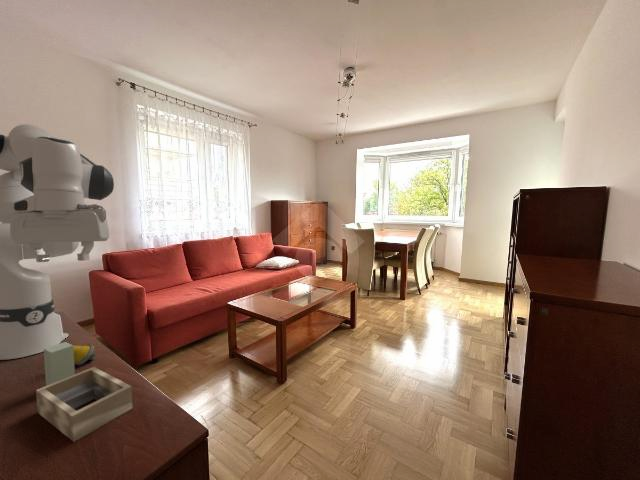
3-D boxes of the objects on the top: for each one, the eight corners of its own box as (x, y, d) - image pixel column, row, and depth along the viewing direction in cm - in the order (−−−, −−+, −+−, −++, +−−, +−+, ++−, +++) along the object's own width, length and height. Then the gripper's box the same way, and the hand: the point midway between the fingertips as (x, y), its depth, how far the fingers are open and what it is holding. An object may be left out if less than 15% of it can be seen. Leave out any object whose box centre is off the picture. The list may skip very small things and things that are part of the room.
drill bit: (97, 365, 75) (60, 352, 69) (84, 371, 76) (46, 358, 70) (106, 347, 79) (72, 333, 73) (93, 352, 80) (59, 339, 74)
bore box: (37, 412, 56) (36, 390, 56) (94, 386, 65) (93, 366, 65) (73, 442, 49) (72, 416, 49) (132, 408, 58) (131, 386, 57)
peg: (46, 388, 64) (43, 348, 63) (67, 380, 67) (65, 341, 67) (53, 393, 62) (51, 352, 61) (75, 384, 66) (73, 345, 65)
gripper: (114, 205, 69) (116, 258, 69) (29, 207, 68) (32, 261, 68) (95, 202, 63) (97, 260, 63) (1, 204, 61) (5, 264, 61)
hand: (63, 261), depth 65 cm, fingers open, 8 cm apart
